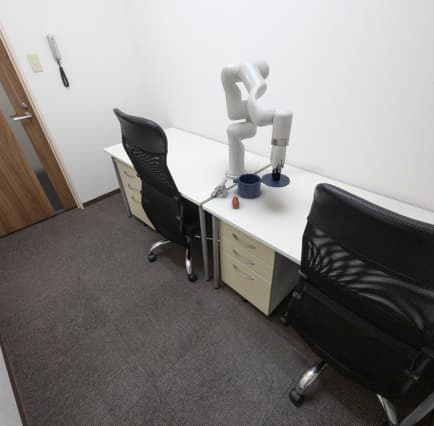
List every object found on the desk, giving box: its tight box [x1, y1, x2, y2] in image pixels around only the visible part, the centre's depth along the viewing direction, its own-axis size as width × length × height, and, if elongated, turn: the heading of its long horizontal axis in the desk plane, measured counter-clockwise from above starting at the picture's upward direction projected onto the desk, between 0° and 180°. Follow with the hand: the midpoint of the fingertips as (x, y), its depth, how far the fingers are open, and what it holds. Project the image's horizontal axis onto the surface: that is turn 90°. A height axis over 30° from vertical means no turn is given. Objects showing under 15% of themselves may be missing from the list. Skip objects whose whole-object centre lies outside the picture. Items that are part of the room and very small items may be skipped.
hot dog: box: [232, 196, 240, 209], centre depth 122 cm, size 8×3×3 cm, turn 0°
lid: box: [261, 169, 291, 189], centre depth 112 cm, size 14×14×6 cm
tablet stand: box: [210, 177, 229, 198], centre depth 129 cm, size 9×8×8 cm
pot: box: [232, 173, 262, 199], centre depth 130 cm, size 13×18×8 cm
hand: (275, 178), depth 113 cm, fingers closed on lid, 2 cm apart
